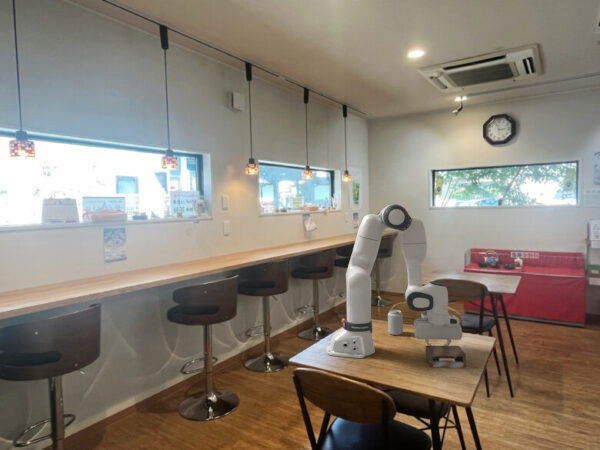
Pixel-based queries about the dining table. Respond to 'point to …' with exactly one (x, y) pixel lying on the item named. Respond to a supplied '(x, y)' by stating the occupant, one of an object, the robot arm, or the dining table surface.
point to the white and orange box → (444, 358)
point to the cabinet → (445, 351)
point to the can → (395, 322)
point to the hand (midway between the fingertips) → (437, 348)
